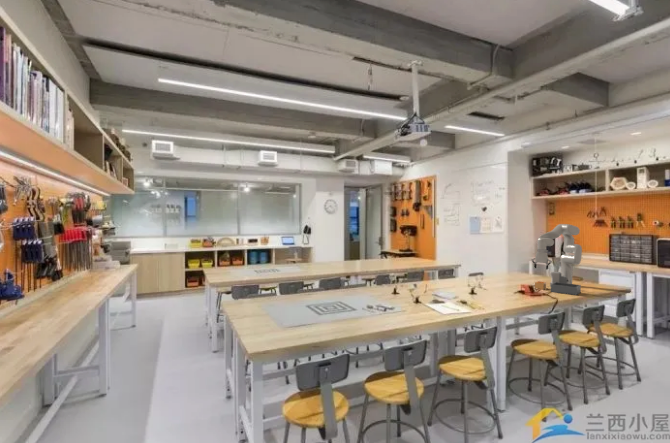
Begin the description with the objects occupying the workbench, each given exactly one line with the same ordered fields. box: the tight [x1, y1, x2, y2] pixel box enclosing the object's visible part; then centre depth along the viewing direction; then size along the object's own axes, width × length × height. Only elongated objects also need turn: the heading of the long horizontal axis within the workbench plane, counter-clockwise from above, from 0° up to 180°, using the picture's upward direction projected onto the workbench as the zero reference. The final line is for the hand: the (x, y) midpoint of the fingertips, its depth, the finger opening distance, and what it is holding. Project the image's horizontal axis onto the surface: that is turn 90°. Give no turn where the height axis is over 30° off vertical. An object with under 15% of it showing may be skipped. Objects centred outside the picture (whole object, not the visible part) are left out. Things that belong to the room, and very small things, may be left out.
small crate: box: [534, 280, 547, 291], centre depth 335 cm, size 10×7×6 cm
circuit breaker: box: [549, 271, 568, 288], centre depth 340 cm, size 8×14×15 cm, turn 64°
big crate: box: [550, 282, 582, 297], centre depth 319 cm, size 18×20×7 cm
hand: (541, 268), depth 335 cm, fingers open, 9 cm apart
